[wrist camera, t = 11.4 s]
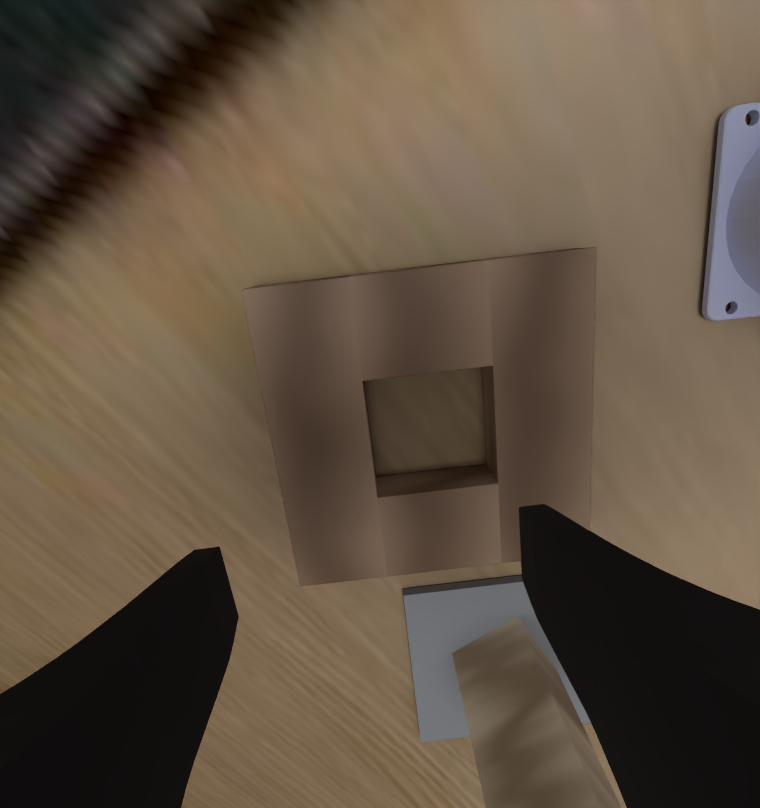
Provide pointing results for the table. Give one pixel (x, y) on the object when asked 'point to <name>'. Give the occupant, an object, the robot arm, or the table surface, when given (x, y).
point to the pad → (462, 644)
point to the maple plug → (526, 726)
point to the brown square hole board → (419, 354)
